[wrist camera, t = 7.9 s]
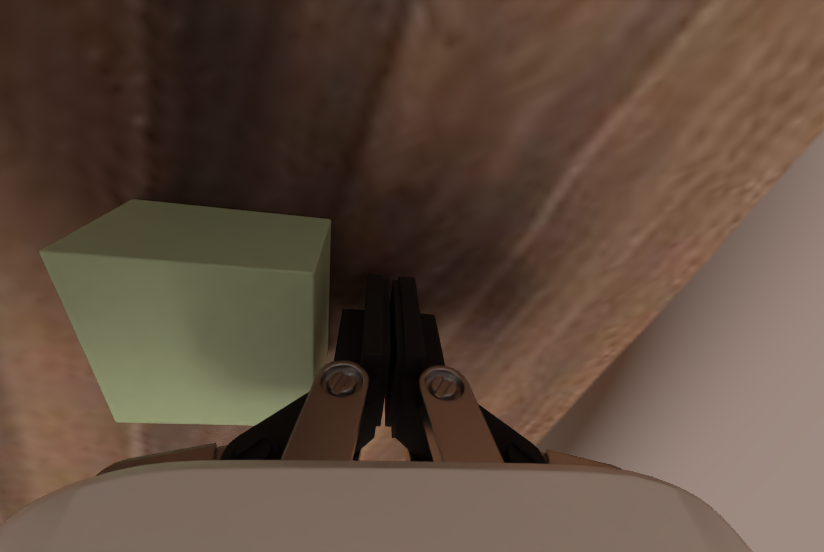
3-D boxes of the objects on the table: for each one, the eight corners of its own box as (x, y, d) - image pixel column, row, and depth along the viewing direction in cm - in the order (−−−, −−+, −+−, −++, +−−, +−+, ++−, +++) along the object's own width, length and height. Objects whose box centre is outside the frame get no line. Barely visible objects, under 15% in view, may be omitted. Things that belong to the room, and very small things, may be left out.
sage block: (131, 198, 11) (36, 250, 8) (331, 218, 12) (313, 273, 9) (172, 344, 14) (115, 423, 11) (327, 353, 15) (314, 427, 12)
